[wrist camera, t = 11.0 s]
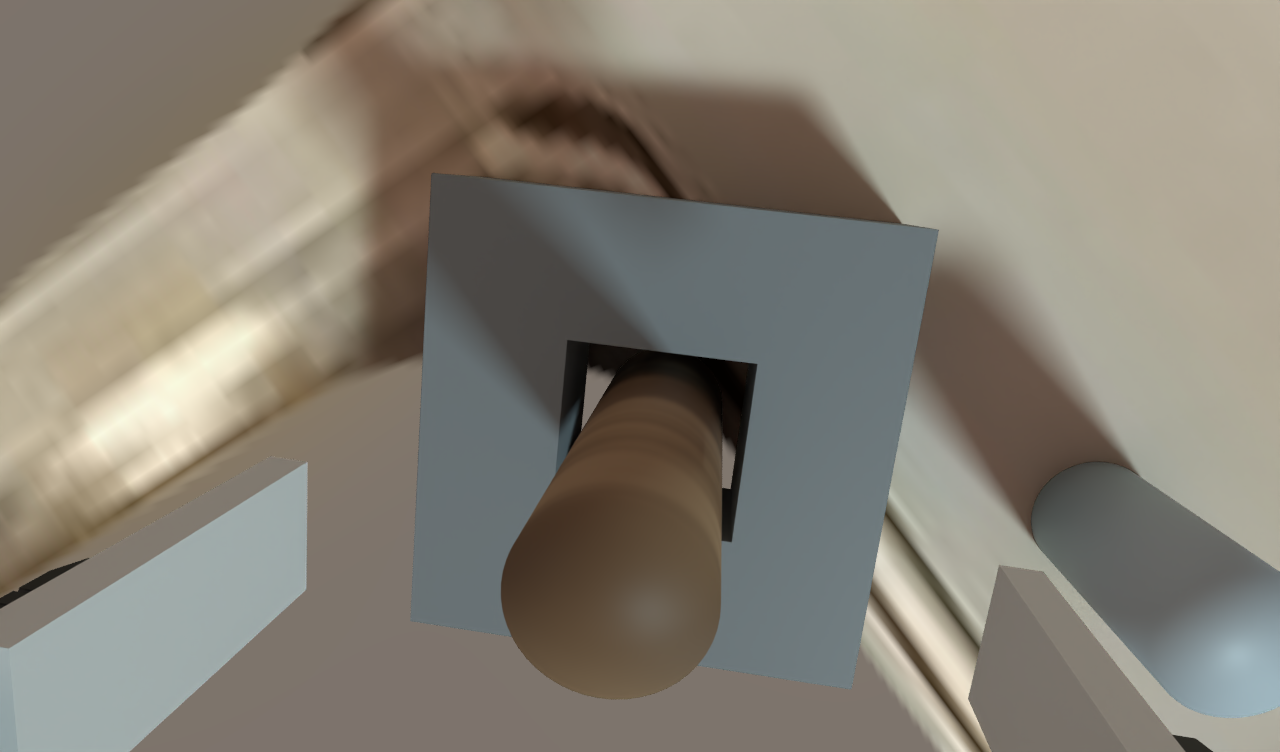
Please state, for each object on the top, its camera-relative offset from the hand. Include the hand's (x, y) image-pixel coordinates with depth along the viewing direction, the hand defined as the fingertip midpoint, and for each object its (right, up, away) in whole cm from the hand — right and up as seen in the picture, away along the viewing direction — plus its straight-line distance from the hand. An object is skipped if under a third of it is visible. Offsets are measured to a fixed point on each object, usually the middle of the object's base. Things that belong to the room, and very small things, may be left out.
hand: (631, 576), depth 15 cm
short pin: (+16, -1, +12) cm, 20 cm away
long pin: (+1, +3, +13) cm, 13 cm away
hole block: (+1, +3, +13) cm, 13 cm away
